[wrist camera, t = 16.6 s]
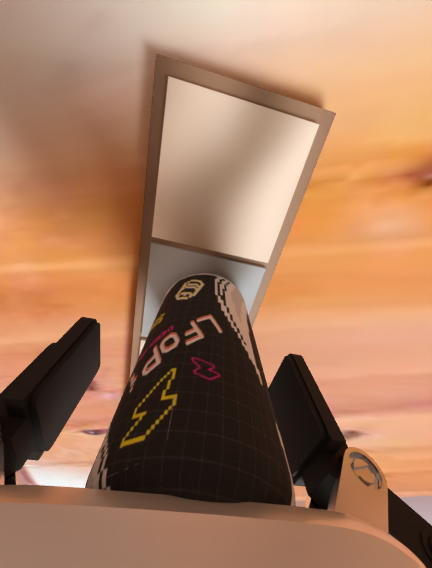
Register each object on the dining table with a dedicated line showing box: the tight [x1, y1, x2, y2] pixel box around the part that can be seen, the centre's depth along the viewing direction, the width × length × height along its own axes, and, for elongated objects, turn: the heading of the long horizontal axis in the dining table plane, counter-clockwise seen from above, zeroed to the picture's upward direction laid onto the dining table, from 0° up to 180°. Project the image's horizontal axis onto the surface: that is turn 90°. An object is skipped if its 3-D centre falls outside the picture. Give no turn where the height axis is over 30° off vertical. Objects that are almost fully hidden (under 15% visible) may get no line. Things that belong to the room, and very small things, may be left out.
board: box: [130, 54, 336, 377], centre depth 17 cm, size 9×33×1 cm, turn 166°
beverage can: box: [85, 273, 295, 506], centre depth 10 cm, size 6×6×12 cm
